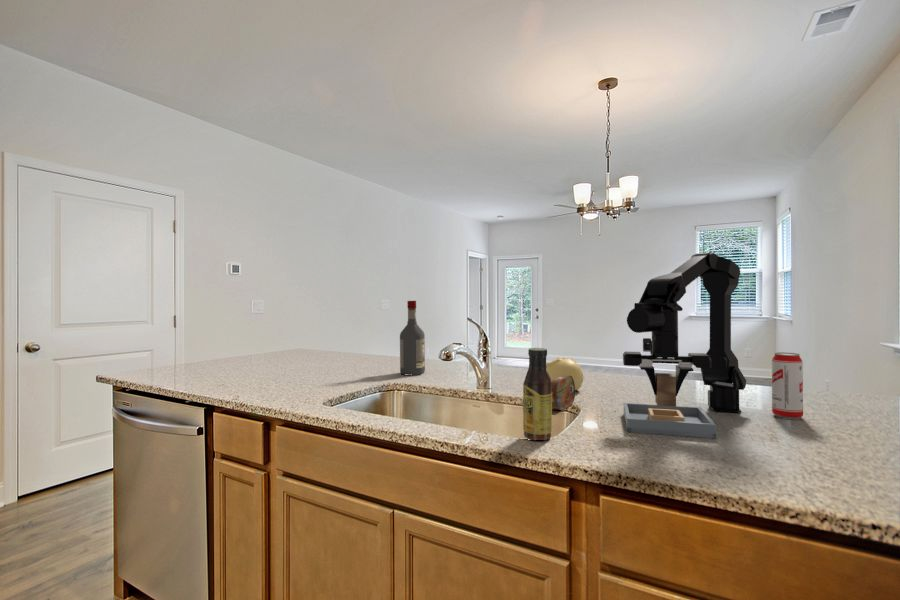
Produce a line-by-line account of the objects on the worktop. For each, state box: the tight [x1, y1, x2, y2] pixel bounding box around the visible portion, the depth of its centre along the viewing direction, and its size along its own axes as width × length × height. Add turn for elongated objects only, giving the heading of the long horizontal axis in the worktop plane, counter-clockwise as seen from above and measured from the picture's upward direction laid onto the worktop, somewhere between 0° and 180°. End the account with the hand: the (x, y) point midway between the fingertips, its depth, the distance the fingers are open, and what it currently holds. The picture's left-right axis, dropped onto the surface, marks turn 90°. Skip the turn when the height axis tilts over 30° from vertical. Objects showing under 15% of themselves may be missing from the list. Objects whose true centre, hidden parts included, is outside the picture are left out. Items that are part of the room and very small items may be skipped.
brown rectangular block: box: [654, 372, 677, 406], centre depth 107 cm, size 4×4×7 cm
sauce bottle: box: [522, 347, 553, 441], centre depth 99 cm, size 7×6×20 cm
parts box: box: [623, 402, 718, 440], centre depth 107 cm, size 18×16×3 cm
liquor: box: [399, 300, 426, 376], centre depth 184 cm, size 9×9×30 cm
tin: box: [551, 375, 576, 411], centre depth 127 cm, size 15×3×8 cm, turn 146°
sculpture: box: [546, 357, 584, 391], centre depth 149 cm, size 12×12×11 cm
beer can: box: [771, 351, 804, 421], centre depth 113 cm, size 6×6×16 cm
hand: (665, 395), depth 107 cm, fingers closed on brown rectangular block, 4 cm apart
